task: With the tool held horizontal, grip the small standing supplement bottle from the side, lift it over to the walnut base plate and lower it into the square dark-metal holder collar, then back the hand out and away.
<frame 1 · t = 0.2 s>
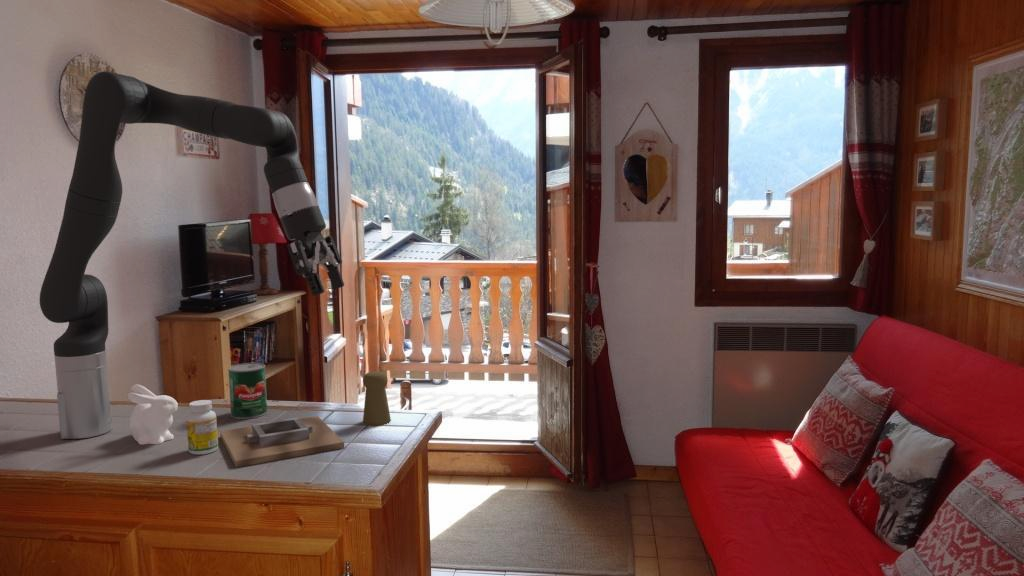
hand: (329, 291, 139), 31 cm above the table, tool tilted 20°, fingers open, 8 cm apart
supplement bottle: (203, 451, 141), on the table
cork: (376, 422, 158), on the table
canned tomato: (249, 414, 165), on the table
holder: (280, 442, 145), on the table
rabbit: (154, 441, 148), on the table
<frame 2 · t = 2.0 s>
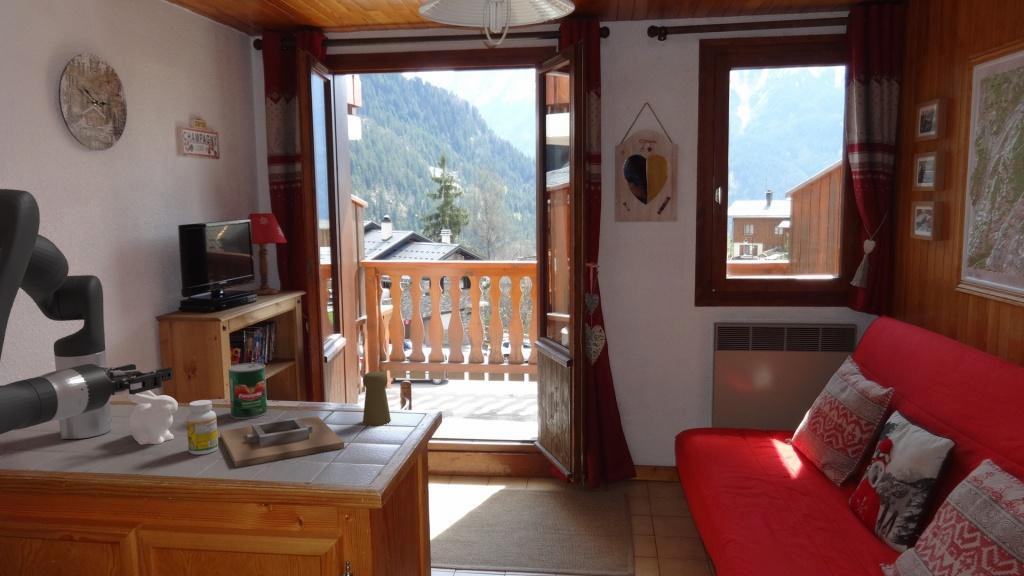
hand: (152, 371, 129), 18 cm above the table, tool horizontal, fingers open, 8 cm apart
nothing on the table moved.
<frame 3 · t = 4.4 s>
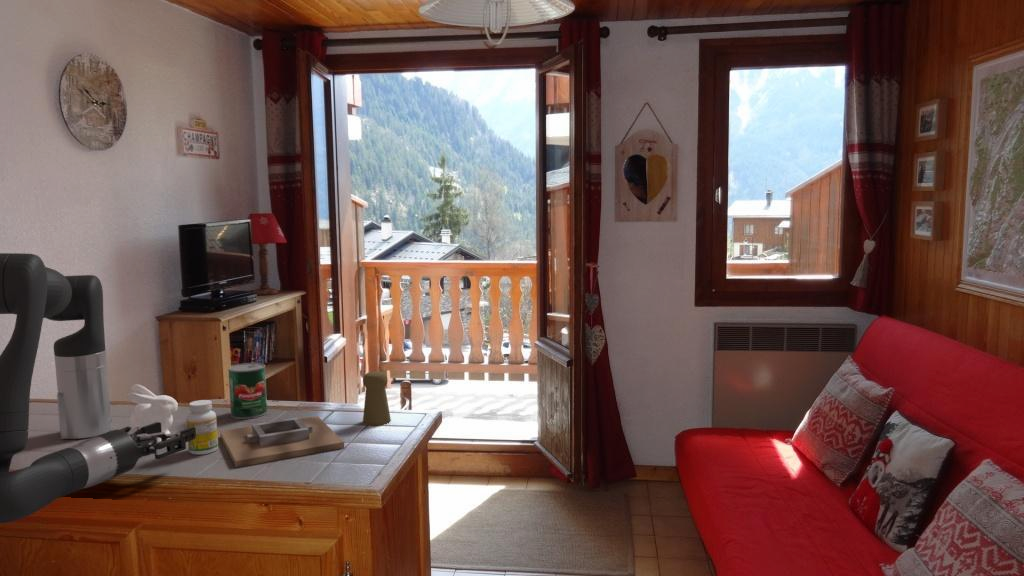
hand: (176, 429, 135), 6 cm above the table, tool horizontal, fingers open, 8 cm apart
nothing on the table moved.
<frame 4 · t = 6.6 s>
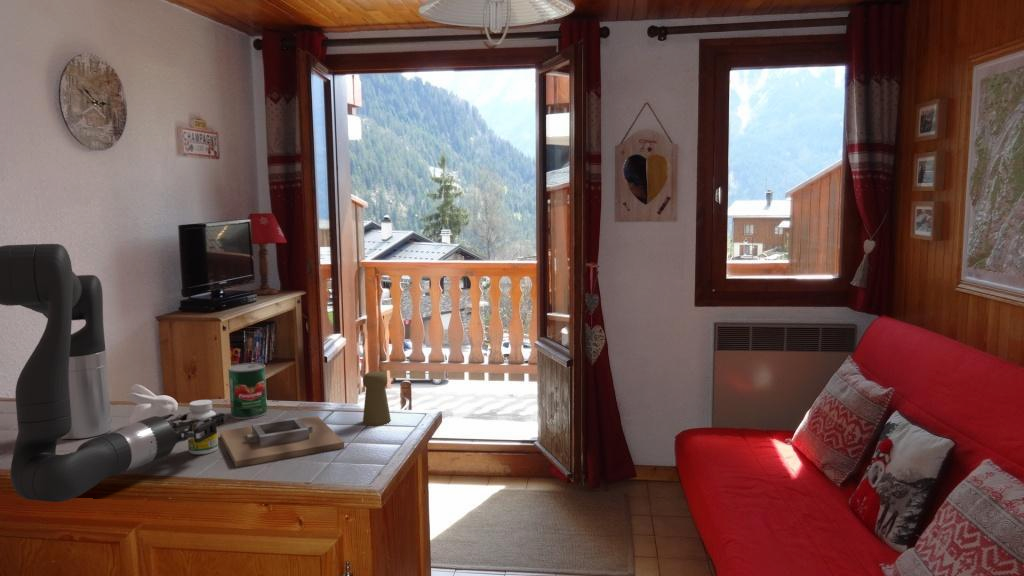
hand: (211, 416, 143), 6 cm above the table, tool horizontal, fingers closed on supplement bottle, 5 cm apart
supplement bottle: (203, 451, 141), on the table, touching gripper
everything else where it was.
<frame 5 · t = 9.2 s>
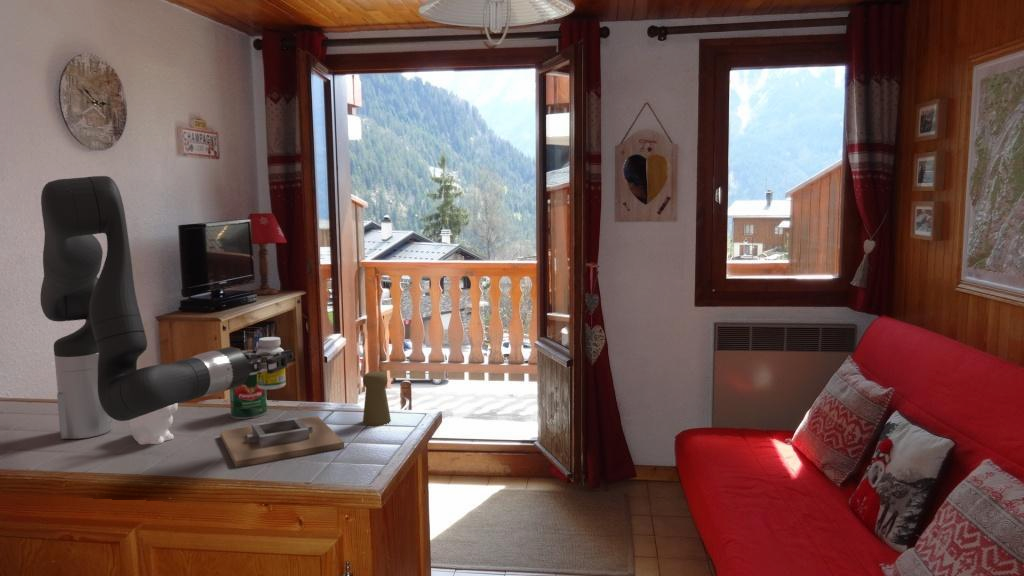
hand: (279, 353, 145), 18 cm above the table, tool horizontal, fingers closed on supplement bottle, 5 cm apart
supplement bottle: (271, 387, 143), point 12 cm above the table, touching gripper
everything else where it was.
when the fingers open (8 cm above the table, at t = 12.0 s): supplement bottle drops 1 cm, resting on holder.
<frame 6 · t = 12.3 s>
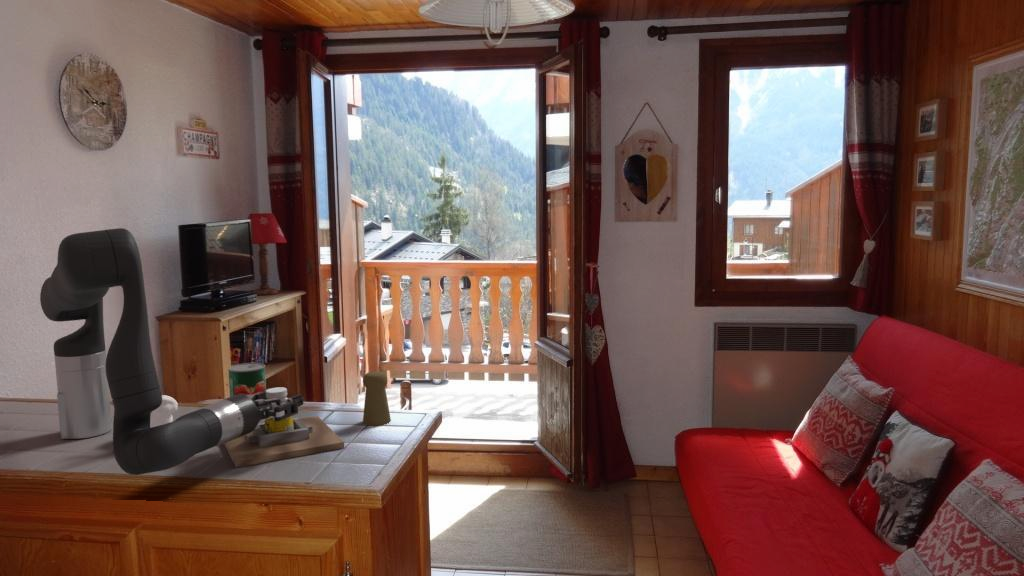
hand: (285, 397, 146), 9 cm above the table, tool horizontal, fingers open, 7 cm apart
supplement bottle: (280, 437, 145), point 1 cm above the table, touching holder
everything else where it was.
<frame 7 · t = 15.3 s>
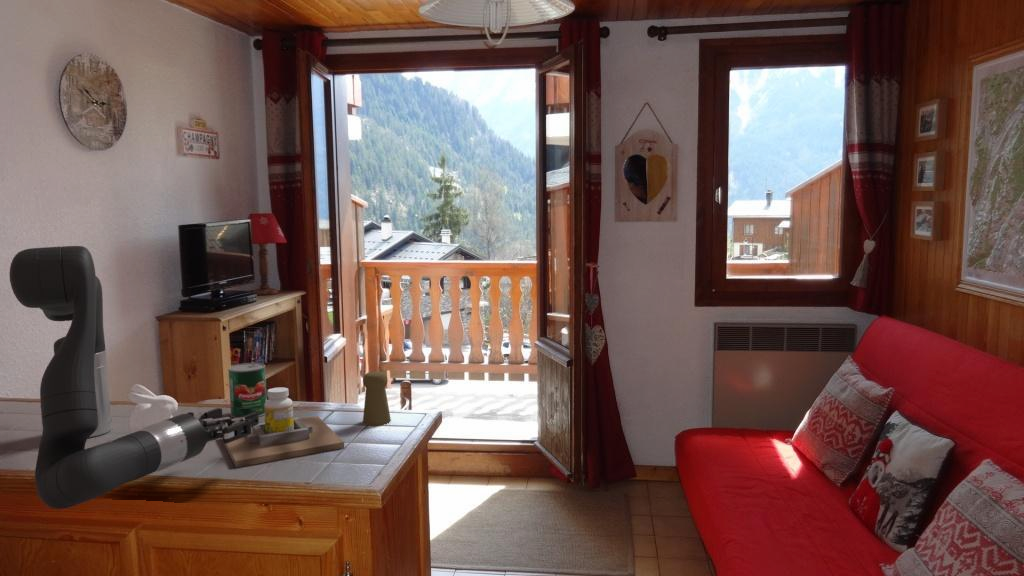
hand: (238, 415, 134), 9 cm above the table, tool horizontal, fingers open, 8 cm apart
nothing on the table moved.
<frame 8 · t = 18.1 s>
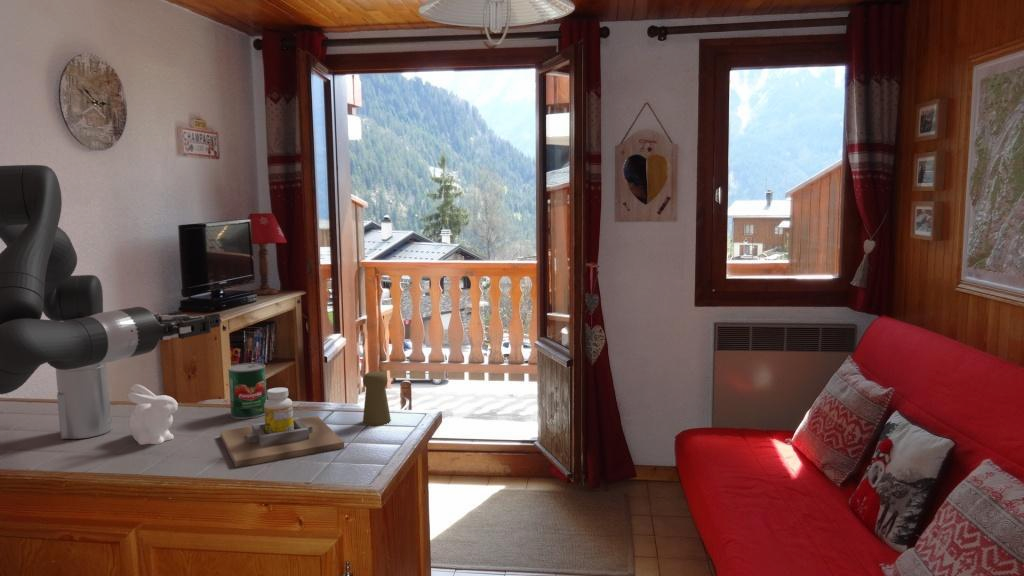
hand: (199, 318, 126), 28 cm above the table, tool horizontal, fingers open, 8 cm apart
nothing on the table moved.
at the end: supplement bottle 0.1 cm off-centre on the holder, point 1.0 cm above the holder's base; supplement bottle tilted 0°; the gripper is holding nothing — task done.
